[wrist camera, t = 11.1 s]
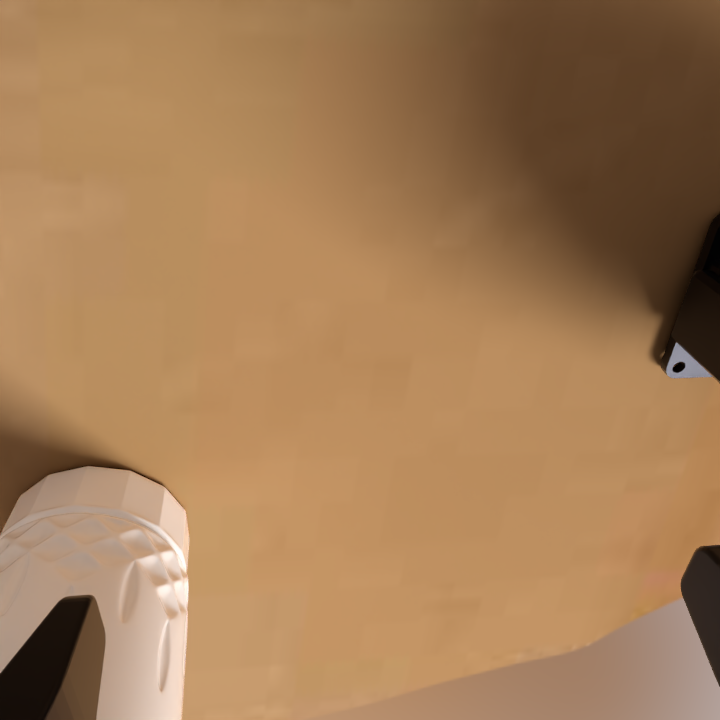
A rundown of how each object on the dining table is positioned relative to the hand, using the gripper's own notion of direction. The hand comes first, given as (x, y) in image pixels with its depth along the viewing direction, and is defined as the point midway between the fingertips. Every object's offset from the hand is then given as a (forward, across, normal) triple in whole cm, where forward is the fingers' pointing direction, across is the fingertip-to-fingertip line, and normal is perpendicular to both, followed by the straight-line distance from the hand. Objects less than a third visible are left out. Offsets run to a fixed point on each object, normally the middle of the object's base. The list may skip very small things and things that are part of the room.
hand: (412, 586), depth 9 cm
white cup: (+13, +9, +12) cm, 20 cm away
